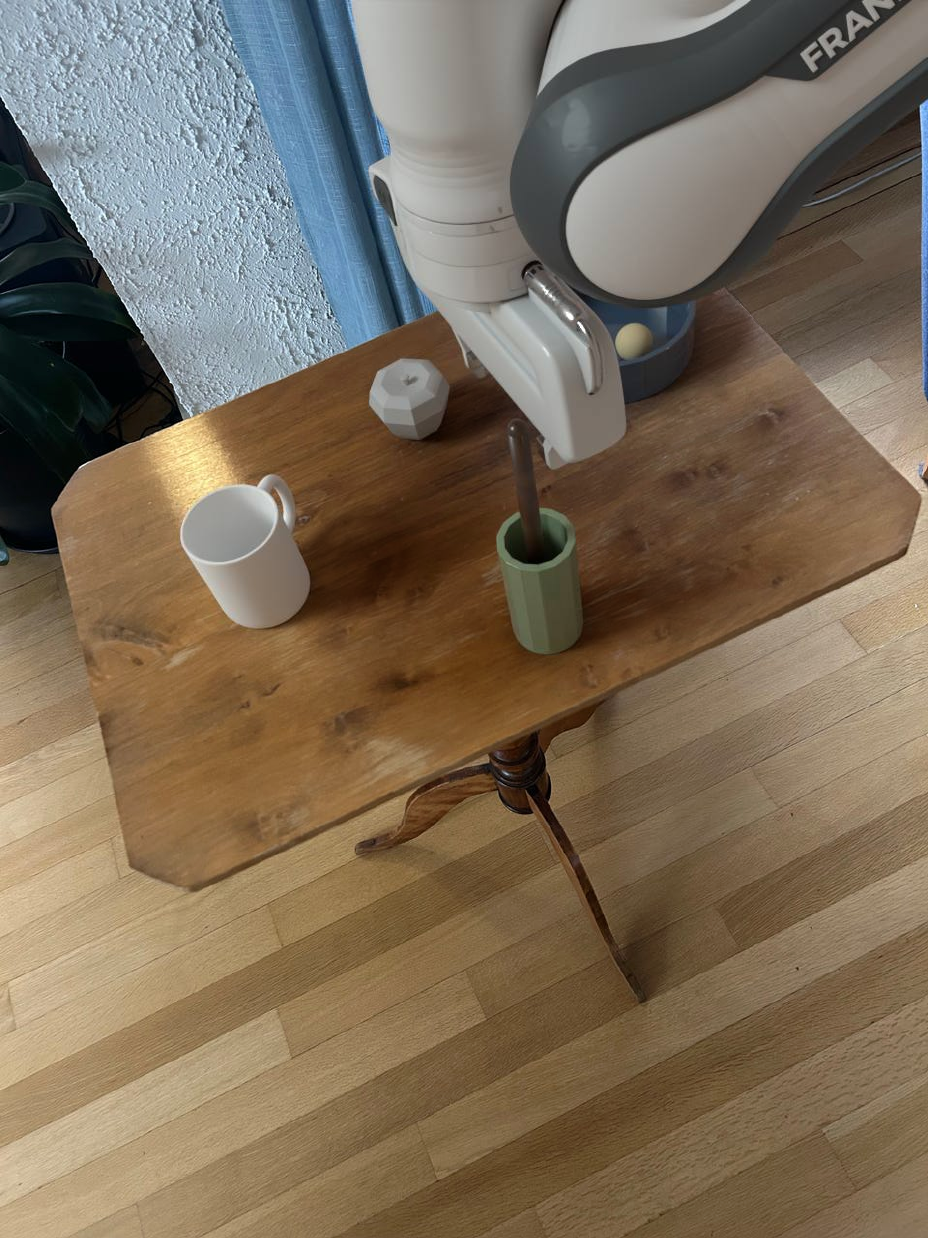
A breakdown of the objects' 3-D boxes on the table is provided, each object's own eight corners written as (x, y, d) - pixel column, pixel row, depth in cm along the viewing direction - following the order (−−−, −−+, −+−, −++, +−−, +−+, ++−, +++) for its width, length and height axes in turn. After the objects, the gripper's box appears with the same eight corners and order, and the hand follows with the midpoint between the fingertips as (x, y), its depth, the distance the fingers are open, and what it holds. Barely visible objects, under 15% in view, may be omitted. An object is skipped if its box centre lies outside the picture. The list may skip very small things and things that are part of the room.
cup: (207, 620, 88) (161, 552, 80) (265, 517, 94) (229, 444, 86) (288, 641, 86) (250, 573, 77) (343, 533, 91) (313, 460, 83)
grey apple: (462, 446, 95) (452, 396, 90) (383, 464, 95) (367, 415, 90) (450, 388, 100) (439, 338, 94) (374, 406, 100) (359, 356, 94)
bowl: (634, 271, 105) (634, 230, 101) (726, 357, 96) (730, 317, 92) (501, 336, 103) (495, 297, 98) (584, 430, 94) (581, 392, 90)
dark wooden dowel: (554, 609, 83) (527, 407, 63) (562, 621, 82) (538, 420, 62) (529, 622, 82) (494, 423, 63) (537, 634, 82) (505, 437, 62)
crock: (559, 584, 85) (549, 495, 75) (596, 634, 82) (590, 547, 72) (500, 616, 84) (482, 529, 74) (536, 667, 81) (521, 584, 71)
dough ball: (644, 356, 98) (647, 319, 97) (656, 364, 95) (659, 325, 94) (609, 358, 98) (611, 320, 96) (620, 365, 95) (623, 326, 93)
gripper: (656, 300, 45) (655, 494, 57) (452, 110, 56) (486, 305, 68) (537, 360, 44) (560, 545, 56) (354, 155, 55) (405, 344, 67)
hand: (518, 411), depth 62 cm, fingers open, 8 cm apart
